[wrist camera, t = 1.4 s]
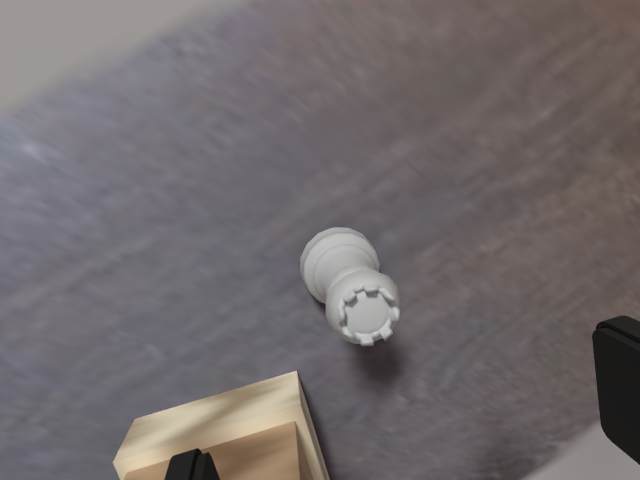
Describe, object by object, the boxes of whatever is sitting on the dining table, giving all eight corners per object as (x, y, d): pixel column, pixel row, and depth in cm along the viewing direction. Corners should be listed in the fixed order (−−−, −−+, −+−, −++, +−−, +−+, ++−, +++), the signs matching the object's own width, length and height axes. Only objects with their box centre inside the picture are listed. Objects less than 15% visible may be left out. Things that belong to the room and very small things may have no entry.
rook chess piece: (350, 210, 23) (390, 239, 16) (388, 273, 24) (443, 330, 17) (284, 252, 23) (291, 302, 16) (324, 313, 24) (350, 388, 17)
